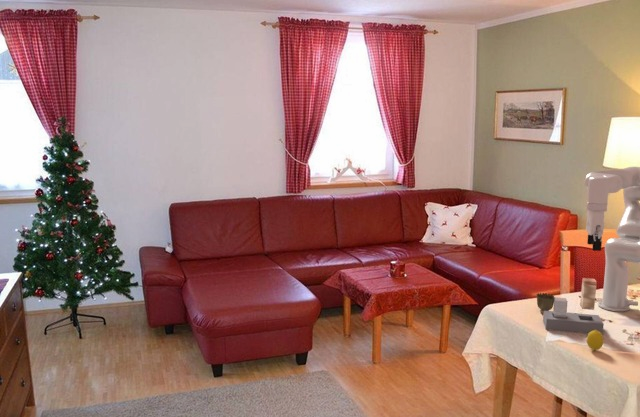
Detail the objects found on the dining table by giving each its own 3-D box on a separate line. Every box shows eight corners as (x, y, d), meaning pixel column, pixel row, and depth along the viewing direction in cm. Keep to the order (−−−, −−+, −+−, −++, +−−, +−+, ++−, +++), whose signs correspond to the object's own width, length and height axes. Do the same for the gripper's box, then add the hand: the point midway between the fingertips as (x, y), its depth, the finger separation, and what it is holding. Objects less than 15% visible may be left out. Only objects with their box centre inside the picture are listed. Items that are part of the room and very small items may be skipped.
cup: (555, 316, 251) (556, 298, 250) (537, 315, 252) (538, 297, 251) (551, 310, 258) (553, 293, 257) (534, 309, 260) (535, 292, 258)
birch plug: (591, 306, 236) (594, 278, 234) (594, 309, 232) (596, 281, 230) (580, 305, 237) (582, 277, 235) (582, 308, 233) (584, 281, 231)
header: (597, 326, 239) (598, 315, 238) (602, 336, 230) (603, 323, 229) (542, 321, 244) (543, 310, 243) (545, 330, 235) (546, 318, 234)
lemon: (594, 354, 212) (596, 333, 211) (582, 348, 217) (584, 328, 216) (605, 352, 214) (607, 331, 213) (593, 346, 219) (595, 326, 218)
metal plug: (563, 325, 240) (565, 298, 238) (565, 328, 236) (567, 301, 234) (552, 323, 241) (554, 297, 239) (553, 327, 237) (555, 300, 235)
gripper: (582, 202, 247) (580, 241, 250) (591, 210, 230) (588, 252, 234) (602, 202, 245) (599, 242, 249) (612, 211, 229) (609, 253, 232)
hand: (594, 247), depth 241 cm, fingers open, 9 cm apart
